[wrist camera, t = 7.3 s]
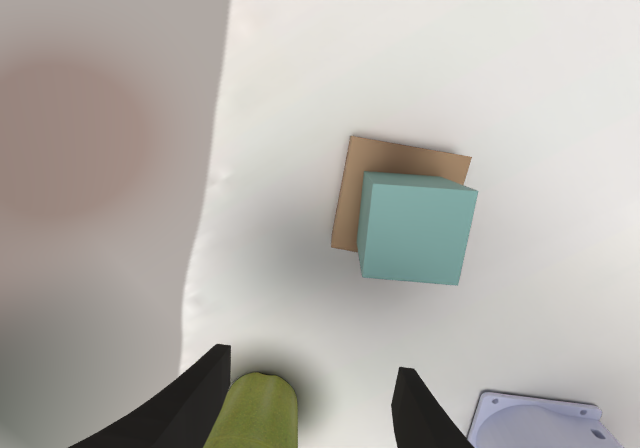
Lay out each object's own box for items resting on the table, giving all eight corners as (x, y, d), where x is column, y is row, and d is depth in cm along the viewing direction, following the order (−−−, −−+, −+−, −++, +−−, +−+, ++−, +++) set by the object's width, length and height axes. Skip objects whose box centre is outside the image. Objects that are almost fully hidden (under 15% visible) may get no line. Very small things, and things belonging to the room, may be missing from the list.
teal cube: (440, 176, 18) (478, 191, 13) (427, 247, 19) (457, 285, 14) (363, 171, 18) (373, 183, 13) (356, 242, 19) (362, 277, 14)
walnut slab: (452, 154, 20) (471, 157, 17) (425, 249, 22) (437, 266, 19) (350, 136, 20) (352, 136, 17) (331, 233, 22) (330, 247, 19)
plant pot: (269, 334, 25) (233, 436, 16) (338, 409, 26) (338, 535, 18) (190, 387, 27) (123, 500, 18) (259, 453, 28) (226, 584, 20)
